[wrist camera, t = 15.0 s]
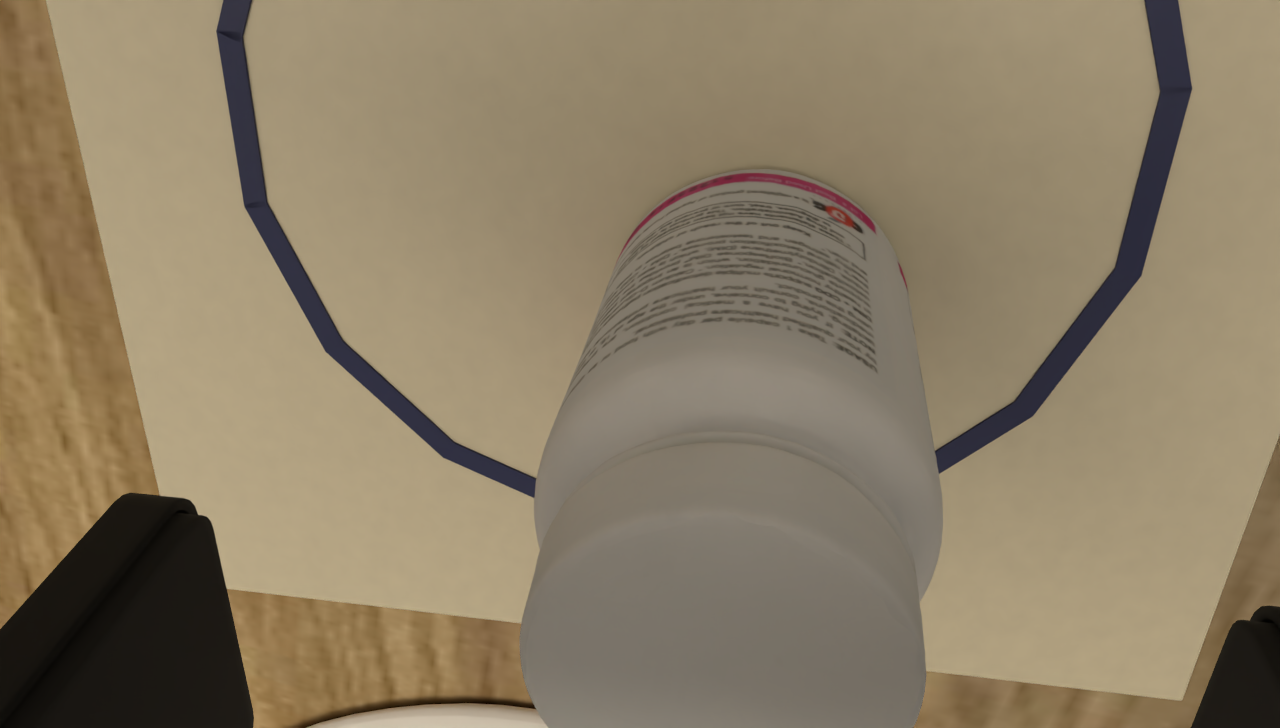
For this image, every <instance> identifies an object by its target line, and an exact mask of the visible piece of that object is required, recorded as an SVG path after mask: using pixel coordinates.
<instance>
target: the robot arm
mask: <svg viewBox="0 0 1280 728" xmlns="http://www.w3.org/2000/svg"><path fill="white" fill-rule="evenodd" d="M253 720H254V716H253V708H252V704H251V699H250V695H249V690H248V685H247V681H246V676H245V672H244V667H243V662H242V658H241V653H240V649H239V644H238V639H237V635H236V630H235V626H234V621H233V616H232V612H231V607H230V602H229V598H228V593H227V589H226V584H225V579H224V575H223V570H222V566H221V561H220V556H219V552H218V547H217V543H216V538H215V533H214V529H213V526H212V523H211V521H210V520H209V518H208V517H206V516H203V515H198V513H197V510H196V507H195V505H194V504H193V503H192V502H191V501H190V500H188V499H185V498H178V497H168V496H157V495H147V494H137V493H128V494H125V495H122V496H121V497H120V498H119V499H117V500H116V501H115V502H114V503H113V504H112V505H111V506H110V508H109V509H108V510H107V511H106V512H105V513H104V514H103V515H102V516H101V518H100V519H99V520H98V521H97V522H96V523H95V524H94V525H93V527H92V528H91V529H90V530H89V531H88V532H87V533H86V534H85V535H84V537H83V538H82V539H81V540H80V541H79V542H78V543H77V544H76V546H75V547H74V548H73V549H72V550H71V551H70V552H69V553H68V554H67V556H66V557H65V558H64V559H63V560H62V561H61V562H60V563H59V565H58V566H57V567H56V568H55V569H54V570H53V571H52V572H51V573H50V575H49V576H48V577H47V578H46V579H45V580H44V581H43V582H42V583H41V585H40V586H39V587H38V588H37V589H36V590H35V591H34V592H33V594H32V595H31V596H30V597H29V598H28V599H27V600H26V601H25V602H24V604H23V605H22V606H21V607H20V608H19V609H18V610H17V611H16V613H15V614H14V615H13V616H12V617H11V618H10V619H9V620H8V621H7V623H6V624H5V625H4V626H3V627H2V628H1V629H0V728H253ZM1191 728H1280V607H1276V606H1262V607H1260V608H1259V609H1258V610H1257V611H1255V613H1254V614H1253V616H1252V618H1251V620H1250V621H1247V620H1238V621H1236V622H1235V623H1234V624H1233V625H1232V627H1231V629H1230V630H1229V633H1228V635H1227V638H1226V640H1225V643H1224V645H1223V648H1222V650H1221V653H1220V655H1219V658H1218V661H1217V663H1216V666H1215V668H1214V671H1213V673H1212V676H1211V678H1210V681H1209V683H1208V686H1207V689H1206V691H1205V694H1204V696H1203V699H1202V701H1201V704H1200V706H1199V709H1198V711H1197V714H1196V717H1195V719H1194V722H1193V724H1192V727H1191Z"/></svg>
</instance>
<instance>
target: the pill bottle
mask: <svg viewBox="0 0 1280 728" xmlns="http://www.w3.org/2000/svg"><path fill="white" fill-rule="evenodd" d="M534 520H535V529H536V535H537V540H538V544H539V548H540V552H539V555H538V559H537V563H536V568H535V573H534V576H533V580H532V584H531V588H530V591H529V595H528V599H527V602H526V606H525V610H524V614H523V617H522V622H521V631H520V658H521V667H522V672H523V676H524V681H525V684H526V687H527V691H528V693H529V695H530V698H531V700H532V702H533V704H534V706H535V708H536V710H537V712H538V714H539V715H540V717H541V719H542V720H543V721H544V723H545V724H546V725H547V727H548V728H913V727H914V725H915V723H916V721H917V718H918V715H919V712H920V709H921V706H922V701H923V697H924V692H925V682H926V662H925V647H924V636H923V625H922V615H921V609H920V601H921V599H922V598H923V596H924V594H925V592H926V590H927V588H928V586H929V584H930V582H931V580H932V577H933V574H934V571H935V568H936V564H937V561H938V558H939V553H940V548H941V542H942V531H943V502H942V492H941V485H940V478H939V473H938V467H937V458H936V454H935V449H934V443H933V437H932V431H931V425H930V419H929V414H928V408H927V402H926V396H925V389H924V384H923V379H922V374H921V367H920V362H919V356H918V350H917V342H916V338H915V331H914V324H913V318H912V310H911V305H910V299H909V293H908V288H907V284H906V280H905V277H904V274H903V271H902V268H901V266H900V263H899V260H898V258H897V256H896V254H895V251H894V249H893V247H892V245H891V244H890V242H889V240H888V239H887V237H886V236H885V234H884V233H883V231H882V230H881V228H880V227H879V226H878V225H877V223H876V222H875V221H874V220H873V219H872V218H871V217H870V216H869V214H868V213H867V212H866V211H865V210H863V209H862V208H861V207H860V206H859V205H858V204H856V203H855V202H854V201H852V200H851V199H850V198H848V197H847V196H845V195H844V194H842V193H840V192H839V191H837V190H835V189H834V188H832V187H830V186H828V185H826V184H824V183H822V182H819V181H817V180H814V179H811V178H808V177H806V176H803V175H799V174H796V173H792V172H787V171H781V170H771V169H746V170H739V171H732V172H727V173H722V174H718V175H715V176H711V177H708V178H705V179H702V180H699V181H697V182H695V183H692V184H690V185H688V186H686V187H684V188H682V189H680V190H678V191H676V192H675V193H673V194H671V195H670V196H668V197H667V198H666V199H664V200H663V201H662V202H660V203H659V204H658V205H657V206H656V207H654V208H653V209H652V210H651V211H650V212H649V213H648V214H647V215H646V216H645V217H644V218H643V219H642V220H641V222H640V223H639V224H638V225H637V227H636V228H635V229H634V231H633V232H632V234H631V235H630V237H629V238H628V240H627V242H626V243H625V245H624V247H623V249H622V251H621V253H620V255H619V257H618V260H617V262H616V265H615V267H614V270H613V273H612V275H611V278H610V280H609V283H608V286H607V288H606V291H605V294H604V297H603V299H602V302H601V305H600V307H599V310H598V313H597V315H596V318H595V321H594V324H593V326H592V329H591V331H590V334H589V336H588V339H587V341H586V344H585V347H584V349H583V352H582V355H581V357H580V360H579V362H578V365H577V367H576V370H575V372H574V375H573V377H572V380H571V382H570V385H569V387H568V390H567V392H566V395H565V397H564V400H563V402H562V404H561V407H560V409H559V412H558V414H557V417H556V419H555V422H554V424H553V427H552V429H551V432H550V434H549V437H548V440H547V442H546V445H545V448H544V451H543V455H542V459H541V462H540V466H539V469H538V474H537V479H536V485H535V497H534Z"/></svg>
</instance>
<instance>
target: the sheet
mask: <svg viewBox="0 0 1280 728" xmlns="http://www.w3.org/2000/svg"><path fill="white" fill-rule="evenodd" d="M46 4H47V8H48V12H49V17H50V21H51V25H52V30H53V34H54V38H55V43H56V47H57V51H58V56H59V60H60V64H61V69H62V73H63V77H64V82H65V86H66V90H67V95H68V99H69V103H70V108H71V112H72V116H73V121H74V125H75V129H76V134H77V138H78V142H79V147H80V151H81V155H82V160H83V164H84V168H85V173H86V177H87V181H88V186H89V190H90V194H91V199H92V203H93V207H94V212H95V216H96V220H97V225H98V229H99V233H100V238H101V242H102V246H103V251H104V255H105V259H106V264H107V268H108V272H109V277H110V281H111V285H112V290H113V294H114V298H115V303H116V307H117V312H118V316H119V320H120V325H121V329H122V333H123V338H124V342H125V346H126V351H127V355H128V359H129V364H130V368H131V372H132V377H133V381H134V385H135V390H136V394H137V398H138V403H139V407H140V411H141V416H142V420H143V424H144V429H145V433H146V437H147V442H148V446H149V450H150V455H151V459H152V463H153V468H154V472H155V476H156V481H157V485H158V489H159V494H160V496H168V497H178V498H185V499H188V500H190V501H191V502H192V503H193V504H194V505H195V507H196V510H197V513H198V515H203V516H206V517H208V518H209V520H210V521H211V523H212V526H213V529H214V533H215V538H216V543H217V547H218V552H219V556H220V561H221V566H222V570H223V575H224V579H225V584H226V589H233V590H241V591H250V592H258V593H267V594H275V595H284V596H292V597H301V598H310V599H318V600H327V601H335V602H344V603H352V604H361V605H369V606H378V607H386V608H395V609H403V610H412V611H420V612H429V613H437V614H446V615H454V616H463V617H471V618H480V619H488V620H497V621H505V622H514V623H521V622H522V617H523V614H524V610H525V606H526V602H527V599H528V595H529V591H530V588H531V584H532V580H533V576H534V573H535V568H536V563H537V559H538V555H539V552H540V548H539V544H538V540H537V535H536V529H535V520H534V497H535V485H536V479H537V474H538V469H539V466H540V462H541V459H542V455H543V451H544V448H545V445H546V442H547V440H548V437H549V434H550V432H551V429H552V427H553V424H554V422H555V419H556V417H557V414H558V412H559V409H560V407H561V404H562V402H563V400H564V397H565V395H566V392H567V390H568V387H569V385H570V382H571V380H572V377H573V375H574V372H575V370H576V367H577V365H578V362H579V360H580V357H581V355H582V352H583V349H584V347H585V344H586V341H587V339H588V336H589V334H590V331H591V329H592V326H593V324H594V321H595V318H596V315H597V313H598V310H599V307H600V305H601V302H602V299H603V297H604V294H605V291H606V288H607V286H608V283H609V280H610V278H611V275H612V273H613V270H614V267H615V265H616V262H617V260H618V257H619V255H620V253H621V251H622V249H623V247H624V245H625V243H626V242H627V240H628V238H629V237H630V235H631V234H632V232H633V231H634V229H635V228H636V227H637V225H638V224H639V223H640V222H641V220H642V219H643V218H644V217H645V216H646V215H647V214H648V213H649V212H650V211H651V210H652V209H653V208H654V207H656V206H657V205H658V204H659V203H660V202H662V201H663V200H664V199H666V198H667V197H668V196H670V195H671V194H673V193H675V192H676V191H678V190H680V189H682V188H684V187H686V186H688V185H690V184H692V183H695V182H697V181H699V180H702V179H705V178H708V177H711V176H715V175H718V174H722V173H727V172H732V171H739V170H746V169H771V170H781V171H787V172H792V173H796V174H799V175H803V176H806V177H808V178H811V179H814V180H817V181H819V182H822V183H824V184H826V185H828V186H830V187H832V188H834V189H835V190H837V191H839V192H840V193H842V194H844V195H845V196H847V197H848V198H850V199H851V200H852V201H854V202H855V203H856V204H858V205H859V206H860V207H861V208H862V209H863V210H865V211H866V212H867V213H868V214H869V216H870V217H871V218H872V219H873V220H874V221H875V222H876V223H877V225H878V226H879V227H880V228H881V230H882V231H883V233H884V234H885V236H886V237H887V239H888V240H889V242H890V244H891V245H892V247H893V249H894V251H895V254H896V256H897V258H898V260H899V263H900V266H901V268H902V271H903V274H904V277H905V280H906V284H907V288H908V293H909V299H910V305H911V310H912V318H913V324H914V331H915V338H916V342H917V350H918V356H919V362H920V367H921V374H922V379H923V384H924V389H925V396H926V402H927V408H928V414H929V419H930V425H931V431H932V437H933V443H934V449H935V454H936V458H937V467H938V473H939V478H940V485H941V492H942V502H943V531H942V542H941V548H940V553H939V558H938V561H937V564H936V568H935V571H934V574H933V577H932V580H931V582H930V584H929V586H928V588H927V590H926V592H925V594H924V596H923V598H922V599H921V601H920V609H921V615H922V625H923V636H924V647H925V662H926V671H931V672H939V673H948V674H956V675H965V676H974V677H982V678H991V679H999V680H1008V681H1016V682H1025V683H1033V684H1042V685H1050V686H1059V687H1067V688H1076V689H1084V690H1093V691H1101V692H1110V693H1118V694H1127V695H1135V696H1144V697H1152V698H1161V699H1169V700H1178V701H1182V699H1183V697H1184V694H1185V691H1186V689H1187V686H1188V683H1189V680H1190V678H1191V675H1192V672H1193V669H1194V667H1195V664H1196V661H1197V659H1198V656H1199V653H1200V650H1201V648H1202V645H1203V642H1204V640H1205V637H1206V634H1207V631H1208V629H1209V626H1210V623H1211V620H1212V618H1213V615H1214V612H1215V610H1216V607H1217V604H1218V601H1219V599H1220V596H1221V593H1222V591H1223V588H1224V585H1225V582H1226V580H1227V577H1228V574H1229V571H1230V569H1231V566H1232V563H1233V561H1234V558H1235V555H1236V552H1237V550H1238V547H1239V544H1240V542H1241V539H1242V536H1243V533H1244V531H1245V528H1246V525H1247V522H1248V520H1249V517H1250V514H1251V512H1252V509H1253V506H1254V503H1255V501H1256V498H1257V495H1258V493H1259V490H1260V487H1261V484H1262V482H1263V479H1264V476H1265V473H1266V471H1267V468H1268V465H1269V463H1270V460H1271V457H1272V454H1273V452H1274V449H1275V446H1276V443H1277V441H1278V438H1279V435H1280V0H46Z"/></svg>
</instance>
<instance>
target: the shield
mask: <svg viewBox="0 0 1280 728" xmlns="http://www.w3.org/2000/svg"><path fill="white" fill-rule="evenodd" d="M306 728H548V727H547V725H546V724H545V723H544V721H543V720H542V719H541V717H540V715H539V714H538V712H537V710H536V709H531V708H523V707H515V706H507V705H493V704H474V703H459V704H430V705H417V706H407V707H396V708H387V709H381V710H375V711H369V712H363V713H358V714H352V715H348V716H344V717H340V718H336V719H332V720H328V721H324V722H320V723H317V724H315V725H312V726H309V727H306Z"/></svg>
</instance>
